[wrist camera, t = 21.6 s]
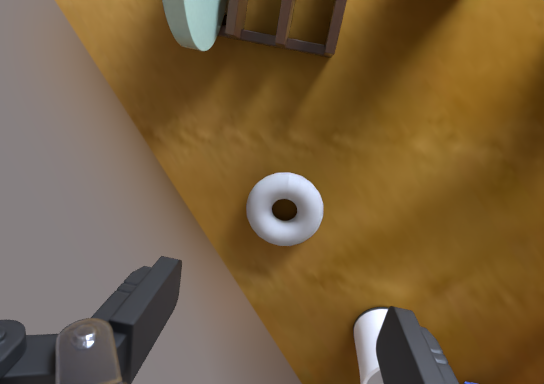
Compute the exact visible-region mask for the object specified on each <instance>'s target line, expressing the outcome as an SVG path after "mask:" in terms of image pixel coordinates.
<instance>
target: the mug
mask: <svg viewBox="0 0 544 384" xmlns="http://www.w3.org/2000/svg"><path fill="white" fill-rule="evenodd" d="M388 309H389V308H386V307H377V308H372V309H369V310H367V311H365V312H364V313H362V314H361V315H360V316H359V317H358V318H357V320H356V321H355V324H354V327H353V333H354V340H355V346H356V352H357V358H358V364H359V371H360V381H361V384H384V383H383V379H382V376H381V372H380V368H379V364H378V360H377V356H376V341H377V337H378V335H379V332H380V329H381V327H382V324H383V321H384V318H385V316H386V313H387V311H388Z"/></svg>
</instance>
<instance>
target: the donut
mask: <svg viewBox="0 0 544 384" xmlns="http://www.w3.org/2000/svg"><path fill="white" fill-rule="evenodd" d="M280 199H288V200H291V201H292V202H294V203H295V205H296V206H297V214H296V216H295V217H294V218H293V219H291V220H288V221H282V220H279V219H278V218H276V217H275V216H274V215H273V213H272V206H273V204H274V202H276V201H277V200H280ZM246 208H247V218H248V220H249V223H250V225H251V227H252V229H253V230H254V231H255V232H256V233H257V234H258V236H260V237H261V238H263V239H264V240H266V241H267V242H269V243H272V244H276V245H279V246H292V245H295V244H299V243H302V242H304V241H305V240H307V239H308V238H310V237H312V235H313V234H314V233H315V232H316V231H317V229H318V228H319V226H320V223H321V220H322V218H323V202H322V199H321V196H320V193H319V192H318V191H317V189H316V188H315V187H314V185H313V184H312V183H311V182H309V181H308V180H307V179H305V178H304V177H302V176H300V175H296V174H293V173H275V174H272V175H269V176H266V177H265V178H264V179H262V180H261V181H259V182H258V183H257V184H256V185H255V186H254V188H253V189H252V191H251V192H250V193H249V197H248V201H247V204H246Z"/></svg>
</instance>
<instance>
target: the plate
mask: <svg viewBox="0 0 544 384" xmlns="http://www.w3.org/2000/svg"><path fill="white" fill-rule="evenodd" d="M162 2H163V6H164V11H165V15H166V18H167V22H168V25H169V27H170V30H171V32H172V34H173V36H174V38H175V39H176V41H177V42H178V43H179V44H180V45H181V46H182V47H184V48H188V49H193V50H198V51H207V50H209V49H210V48H211V47H212V45H213V44H214V42H215V40H216V38H217V36H218V34H219V31H220V28H221V24H222V21H223V17H224V14H225V15H226V14H227V6H228V0H162Z"/></svg>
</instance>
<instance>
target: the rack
mask: <svg viewBox="0 0 544 384" xmlns="http://www.w3.org/2000/svg"><path fill="white" fill-rule="evenodd" d="M346 1H347V0H335V1H334V5H333V10H332V15H331V19H330V24H329V28H328V33H327V38H326V42H325V45H321V44H316V43H311V42H306V41H300V40H295V39H290V38H289V33H290V27H291V22H292V16H293V11H294V5H295V0H282V2H281V8H280V14H279V20H278V26H277V32H276V36H274V35H269V34H264V33H259V32H253V31H248V30H244V25H245V18H246V11H247V3H248V0H229V4H228V13H227V21H226V26H222V25H221V28H220V31H219V34H218V36H221V37H226V38H232V39H237V40H242V41H247V42H252V43H258V44H263V45H268V46H273V47H278V48H284V49H289V50H294V51H299V52H304V53H310V54H315V55H320V56H325V57H330V58H331V57H332V56H333V55H334V54H335V49H336V45H337V41H338V36H339V32H340V27H341V23H342V19H343V14H344V10H345V6H346Z"/></svg>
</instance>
